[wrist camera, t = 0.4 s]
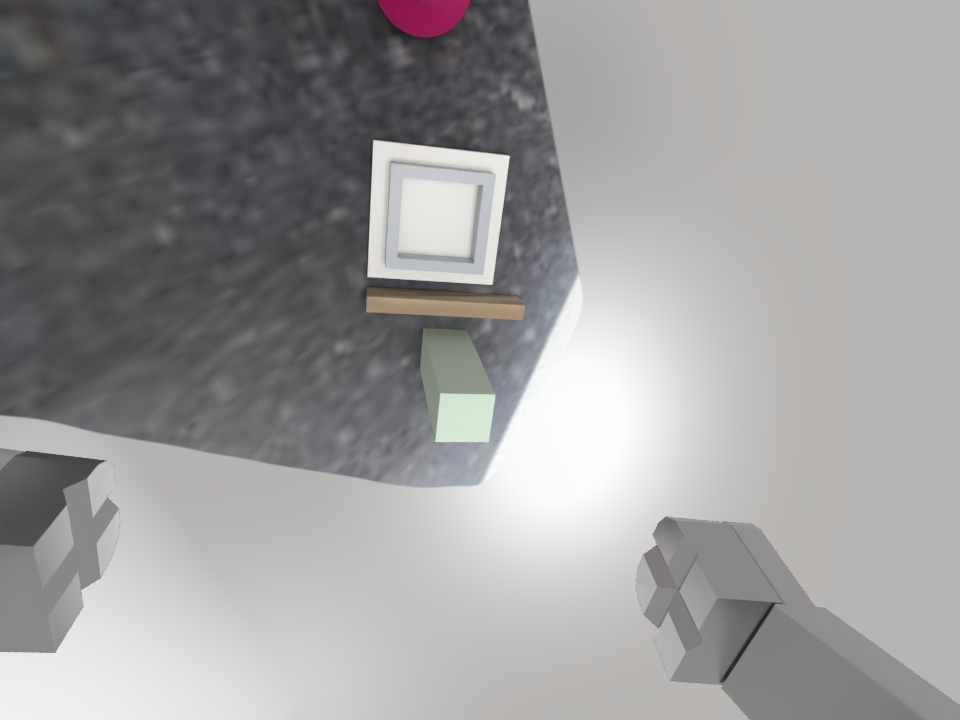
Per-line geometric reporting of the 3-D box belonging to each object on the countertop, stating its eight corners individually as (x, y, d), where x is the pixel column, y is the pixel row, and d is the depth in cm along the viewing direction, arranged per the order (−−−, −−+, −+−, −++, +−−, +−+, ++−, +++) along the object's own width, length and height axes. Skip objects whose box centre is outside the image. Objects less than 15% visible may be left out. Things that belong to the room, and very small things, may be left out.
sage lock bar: (423, 328, 58) (440, 393, 45) (467, 330, 59) (495, 394, 46) (419, 368, 59) (435, 441, 47) (462, 369, 60) (488, 442, 48)
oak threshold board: (366, 286, 55) (367, 296, 52) (517, 295, 58) (525, 305, 55) (366, 301, 55) (366, 312, 53) (515, 309, 59) (522, 320, 56)
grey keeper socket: (373, 139, 49) (373, 142, 47) (507, 154, 52) (515, 158, 49) (367, 273, 54) (367, 283, 52) (490, 281, 57) (496, 291, 54)
